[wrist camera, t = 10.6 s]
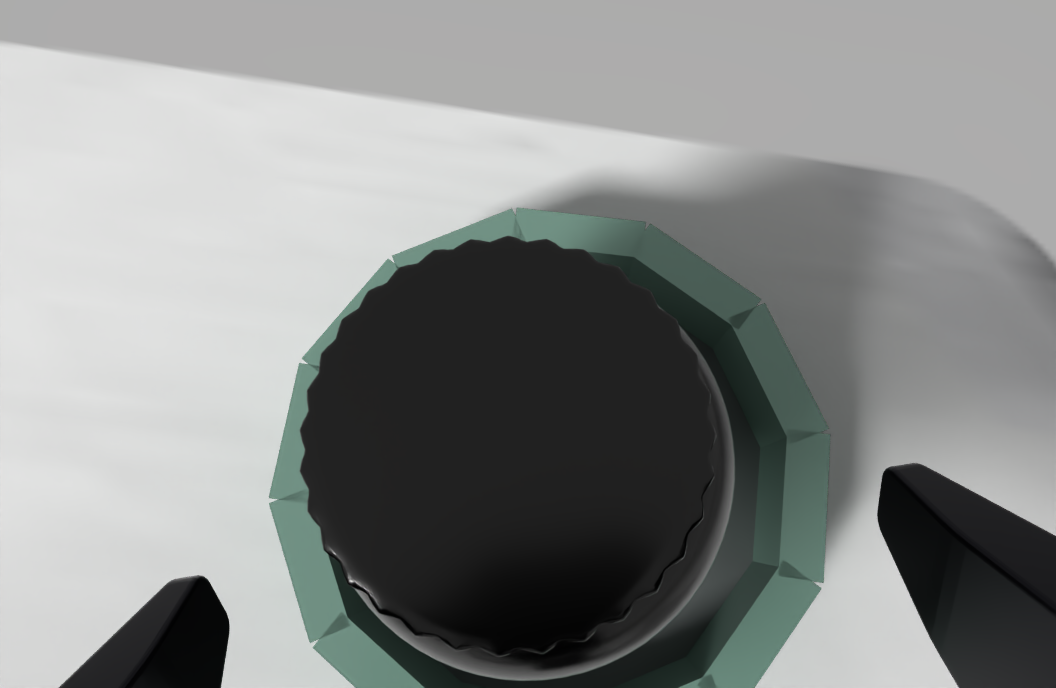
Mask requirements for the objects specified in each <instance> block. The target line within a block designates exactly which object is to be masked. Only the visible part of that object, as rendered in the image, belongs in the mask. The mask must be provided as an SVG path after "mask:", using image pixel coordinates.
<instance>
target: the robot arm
mask: <svg viewBox="0 0 1056 688" xmlns="http://www.w3.org/2000/svg"><path fill="white" fill-rule="evenodd" d="M877 516H878V523H879V527H880V530H881V533H882V535H883V537H884V539H885V542H886V544H887V546H888V548H889V550H890V552H891V555H892V557H893V559H894V561H895V563H896V566H897V568H898V570H899V572H900V574H901V576H902V579H903V581H904V583H905V585H906V587H907V590H908V592H909V594H910V596H911V598H912V601H913V603H914V605H915V607H916V609H917V611H918V614H919V616H920V618H921V620H922V622H923V624H924V626H925V628H926V630H927V632H928V635H929V637H930V639H931V640H932V642H933V644H934V646H935V648H936V649H937V651H938V653H939V655H940V657H941V658H942V660H943V662H944V663H945V665H946V667H947V668H948V670H949V672H950V673H951V675H952V677H953V678H954V680H955V682H956V683H957V685H958V687H959V688H1056V536H1055V535H1053V534H1051V533H1049V532H1047V531H1045V530H1044V529H1042V528H1040V527H1038V526H1036V525H1034V524H1032V523H1031V522H1029V521H1027V520H1025V519H1023V518H1021V517H1019V516H1017V515H1016V514H1014V513H1012V512H1010V511H1008V510H1006V509H1004V508H1002V507H1001V506H999V505H997V504H995V503H993V502H991V501H989V500H988V499H986V498H984V497H982V496H980V495H978V494H976V493H974V492H973V491H971V490H969V489H967V488H965V487H963V486H961V485H960V484H958V483H956V482H954V481H952V480H950V479H948V478H946V477H945V476H943V475H941V474H939V473H937V472H935V471H933V470H931V469H930V468H928V467H926V466H924V465H921V464H918V463H911V464H905V465H898V466H892V467H889V468H887V469H886V470H885V471H884V473H883V476H882V482H881V489H880V497H879V504H878V513H877ZM228 638H229V619H228V616H227V613H226V611H225V609H224V608H223V606H222V604H221V602H220V600H219V599H218V597H217V595H216V593H215V591H214V589H213V588H212V586H211V584H210V582H209V581H208V579H207V578H205V577H204V576H199V575H197V576H191V577H184V578H178V579H174V580H172V581H170V582H168V583H167V584H166V585H165V586H164V587H163V588H162V589H161V590H160V591H159V592H158V593H157V594H156V595H154V596H153V597H152V598H151V599H150V600H149V601H148V602H147V603H146V604H145V605H144V606H143V607H142V608H141V609H140V610H139V611H138V612H137V613H136V614H135V615H134V616H133V617H132V618H131V619H130V620H129V621H127V622H126V623H125V624H124V625H123V626H122V627H121V628H120V629H119V630H118V631H117V632H116V633H115V634H114V635H113V636H112V637H111V638H110V639H109V640H108V641H107V642H106V643H105V644H104V645H103V646H102V647H100V648H99V649H98V650H97V651H96V652H95V653H94V654H93V655H92V656H91V657H90V658H89V659H88V660H87V661H86V662H85V663H84V664H83V665H82V666H81V667H80V668H79V669H78V670H77V671H76V672H75V673H73V674H72V675H71V676H70V677H69V678H68V679H67V680H66V681H65V682H64V683H63V684H62V685H61V686H60V687H59V688H221V683H222V677H223V670H224V664H225V658H226V651H227V645H228Z"/></svg>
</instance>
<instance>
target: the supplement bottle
mask: <svg viewBox="0 0 1056 688" xmlns="http://www.w3.org/2000/svg"><path fill="white" fill-rule="evenodd" d="M307 405H308V412H307V415H306V417H305V418H304V420H303V422H302V425H301V427H300V430H299V431H300V435H301V440H302V443H303V446H304V449H305V451H304V456H303V458H302V461H301V466H300V473H301V476H302V478H303V480H304V482H305V484H306V486H307V487H308V489H309V496H308V500H307V512H308V513H309V515H310V516H311V518H312V519H313V520H314V521H315V523H316V524H317V525H318V526H319V527H320V531H321V540H322V545H323V550H324V551H325V552H326V553H327V554H328V555H329V556H331V557H332V558H334V559H336V560H337V561H338V562H339V563H340V564H341V568H342V571H343V574H344V577H345V579H346V581H347V584H348V585H350V586H351V587H353V588H354V589H355V590H356V592H357V593H358V594H359V596H360V597H361V598H362V599H363V601H364V602H365V603H366V605H367V606H368V607H369V608H370V610H371V611H372V612H373V613H374V614H375V615H376V616H377V617H378V618H379V619H380V620H381V621H382V622H383V623H384V624H385V625H386V626H387V627H388V628H389V629H391V630H392V631H393V632H394V633H395V634H396V635H398V636H399V637H400V638H401V639H403V640H404V641H406V642H407V643H409V644H410V645H411V646H413V647H414V648H416V649H417V650H419V651H421V652H422V653H424V654H426V655H428V656H430V657H432V658H433V659H435V660H437V661H440V662H442V663H444V664H447V665H449V666H451V667H454V668H456V669H459V670H462V671H466V672H469V673H472V674H476V675H480V676H485V677H490V678H495V679H503V680H515V681H541V680H550V679H557V678H564V677H569V676H573V675H577V674H581V673H585V672H588V671H591V670H594V669H597V668H599V667H602V666H605V665H607V664H609V663H611V662H614V661H616V660H618V659H620V658H622V657H624V656H626V655H628V654H629V653H631V652H632V651H634V650H636V649H637V648H639V647H641V646H642V645H644V644H645V643H646V642H648V641H649V640H650V639H652V638H653V637H654V636H656V635H657V634H658V633H659V632H661V631H662V630H663V629H664V628H665V627H666V626H667V625H668V624H669V623H670V622H671V621H672V620H673V619H675V618H676V617H677V616H678V614H679V613H680V612H681V611H682V610H683V609H684V607H685V606H686V605H687V604H688V603H689V602H690V600H691V599H692V598H693V596H694V595H695V593H696V592H697V590H698V589H699V588H700V586H701V585H702V583H703V582H704V580H705V578H706V576H707V575H708V573H709V571H710V569H711V567H712V565H713V564H714V562H715V559H716V557H717V555H718V552H719V550H720V547H721V545H722V543H723V540H724V536H725V533H726V530H727V527H728V523H729V519H730V514H731V509H732V504H733V497H734V487H735V451H734V441H733V434H732V429H731V424H730V419H729V415H728V412H727V409H726V405H725V402H724V399H723V396H722V394H721V391H720V389H719V386H718V384H717V381H716V379H715V377H714V375H713V373H712V371H711V369H710V368H709V366H708V364H707V362H706V360H705V359H704V357H703V355H702V354H701V352H700V351H699V349H698V348H697V346H696V345H695V343H694V342H693V341H692V340H691V338H690V337H689V336H688V335H687V333H686V332H685V331H684V330H683V329H682V327H681V326H680V325H679V324H678V321H677V319H675V318H674V317H673V316H671V315H670V314H668V313H667V312H665V311H664V310H663V309H662V308H661V307H660V306H658V305H657V303H656V300H655V298H654V296H653V294H652V293H651V291H650V290H648V289H646V288H644V287H642V286H640V285H637V284H634V283H631V282H630V280H629V279H628V277H627V276H626V275H625V273H624V272H623V271H622V270H621V269H620V267H618V266H614V265H611V264H606V263H600V262H598V261H596V260H595V259H594V258H593V256H592V255H591V254H589V253H588V252H587V251H586V250H584V249H563V248H561V247H560V246H558V245H557V244H556V243H554V242H552V241H550V240H548V239H541V240H534V241H529V242H526V241H523V240H520V239H519V238H516V237H512V236H505V237H502V238H499V239H496V240H494V241H491V242H487V241H482V240H474V239H470V240H468V241H466V242H464V243H462V244H461V245H459V246H457V247H456V248H454V249H449V250H446V249H439V250H433V251H432V252H430V253H429V254H428V255H426V256H425V257H424V258H423V259H422V260H421V261H420V262H419V263H416V264H412V265H406V266H402V267H399V268H398V269H397V270H396V271H395V272H394V274H393V275H392V276H391V277H390V279H389V280H388V281H387V283H385V284H383V285H381V286H377V287H375V288H373V289H371V290H369V291H368V292H367V293H366V295H365V297H364V298H363V300H362V302H361V304H360V306H359V308H358V309H356V310H355V311H353V312H352V313H350V314H349V315H347V316H346V317H345V318H343V319H342V320H341V323H340V326H339V328H338V332H337V336H336V339H335V340H334V341H333V342H332V343H331V344H330V345H328V346H327V347H326V348H325V349H324V351H323V352H322V353H321V356H320V362H319V373H318V375H317V376H316V377H315V379H314V380H313V381H312V383H311V384H310V386H309V388H308V389H307Z"/></svg>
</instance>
